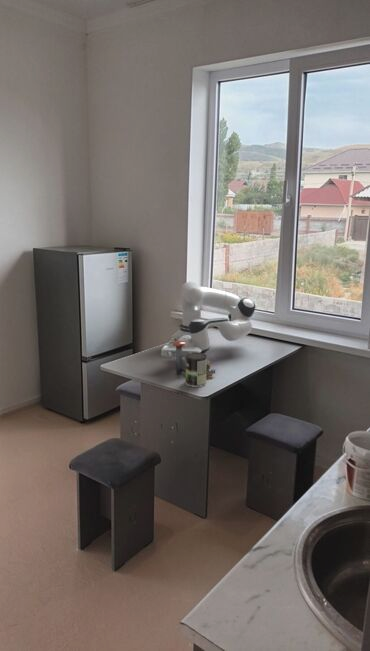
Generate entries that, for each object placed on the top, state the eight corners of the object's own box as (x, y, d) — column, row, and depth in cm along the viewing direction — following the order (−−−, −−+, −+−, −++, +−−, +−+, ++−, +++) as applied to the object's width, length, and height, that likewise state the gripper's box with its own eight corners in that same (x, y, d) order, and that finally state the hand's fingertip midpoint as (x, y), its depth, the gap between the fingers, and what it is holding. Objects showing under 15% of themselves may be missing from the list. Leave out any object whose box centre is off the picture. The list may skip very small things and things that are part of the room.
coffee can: (186, 387, 237) (186, 359, 233) (184, 379, 247) (184, 352, 243) (207, 386, 238) (208, 358, 234) (205, 379, 248) (205, 352, 244)
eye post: (197, 378, 249) (197, 365, 247) (199, 373, 257) (199, 360, 255) (211, 378, 248) (211, 365, 246) (212, 373, 256) (213, 360, 254)
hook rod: (171, 375, 251) (171, 343, 247) (173, 371, 258) (173, 340, 253) (214, 377, 248) (215, 345, 244) (215, 373, 255) (216, 342, 251)
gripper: (202, 355, 264) (199, 363, 250) (164, 353, 266) (159, 361, 253) (202, 343, 262) (199, 351, 249) (164, 342, 265) (159, 349, 251)
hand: (178, 356), depth 251 cm, fingers open, 7 cm apart
